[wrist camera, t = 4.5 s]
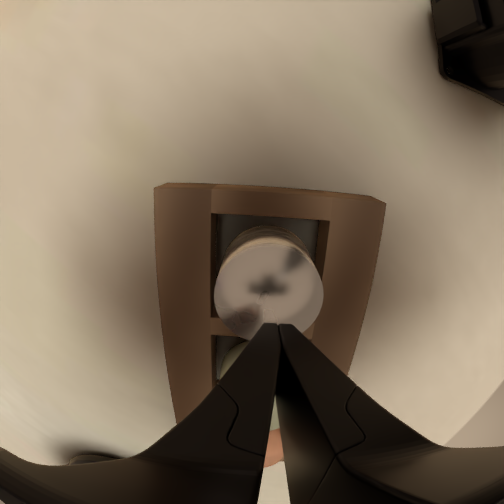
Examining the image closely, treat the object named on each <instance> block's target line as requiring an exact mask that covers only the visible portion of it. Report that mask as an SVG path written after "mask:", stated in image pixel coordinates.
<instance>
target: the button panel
mask: <svg viewBox="0 0 504 504" xmlns="http://www.w3.org/2000/svg"><path fill="white" fill-rule="evenodd" d="M385 209H386V203H384V202H382V201H380V200H378V199H376V198H373V197H371V196H365V195H356V194H347V193H338V192H328V191H317V190H306V189H294V188H281V187H266V186H249V185H228V184H199V183H166V184H163V185H161V186H158V187H155V188H154V225H155V249H156V267H157V281H158V294H159V305H160V315H161V324H162V333H163V341H164V349H165V357H166V364H167V371H168V377H169V384H170V390H171V396H172V401H173V407H174V412H175V418H176V423H177V424H178V423H179V422H180V421H182V420H183V419H184V418H185V417H186V416H187V415H188V414H189V413H190V412H192V411H193V410H194V409H195V408H196V407H197V406H198V405H199V404H200V403H201V402H202V400H203V399H204V398H205V397H206V396H207V395H208V394H209V393H210V391H211V390H212V389H213V388H214V386H215V385H216V384H217V383H218V381H219V380H216V335H222V336H236V337H239V336H238V335H236V334H234V333H233V332H232V331H231V330H229V329H228V328H227V327H226V326H225V324H224V323H223V322H222V320H221V319H220V317H219V315H218V313H217V310H216V307H215V303H214V289H215V285H216V233H217V213H218V214H238V215H256V216H273V217H288V218H302V219H315V220H320V223H319V232H318V240H317V248H316V256H315V263H314V265H315V267H316V269H317V272H318V274H319V276H320V278H321V281H322V285H323V303H322V307H321V310H320V312H319V314H318V316H317V318H316V319H315V321H314V322H313V323H312V325H311V326H310V327H309V328H308V329H306V330H305V331H304V332H303V333H302V334H303V335H304V336H305V337H306V338H308V339H309V340H310V341H311V342H312V343H313V344H314V345H315V346H316V347H317V348H318V349H319V350H320V351H321V352H322V353H323V354H324V355H325V356H326V357H328V358H329V359H330V360H331V361H332V362H333V363H334V364H335V365H336V366H337V367H338V368H339V369H340V370H341V371H342V372H344V373H345V374H346V375H348V372H349V368H350V365H351V362H352V359H353V355H354V352H355V349H356V345H357V342H358V338H359V334H360V331H361V327H362V323H363V319H364V315H365V311H366V307H367V303H368V299H369V295H370V290H371V286H372V281H373V277H374V272H375V267H376V262H377V257H378V252H379V246H380V241H381V235H382V229H383V222H384V216H385ZM280 461H284V455H283V457H282V459H281V460H280Z"/></svg>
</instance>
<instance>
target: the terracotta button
mask: <svg viewBox="0 0 504 504" xmlns="http://www.w3.org/2000/svg"><path fill="white" fill-rule="evenodd" d="M282 457H283V448H282V441H281V434H280V428H278V429H275V430H271V431H270V432H269V438H268V444H267V450H266V456H265V462H264V468H265V467H269V466H272V465H274V464H276V463H277V462H279V461H280V460H281V459H282Z"/></svg>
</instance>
